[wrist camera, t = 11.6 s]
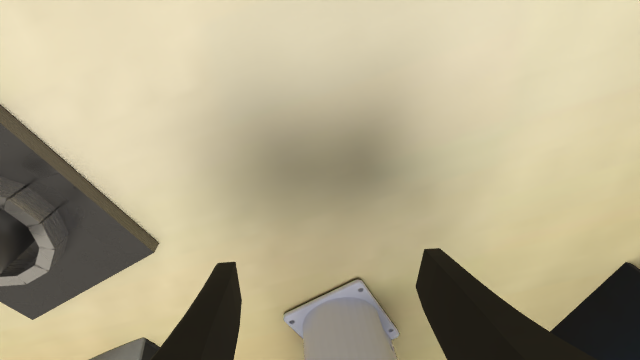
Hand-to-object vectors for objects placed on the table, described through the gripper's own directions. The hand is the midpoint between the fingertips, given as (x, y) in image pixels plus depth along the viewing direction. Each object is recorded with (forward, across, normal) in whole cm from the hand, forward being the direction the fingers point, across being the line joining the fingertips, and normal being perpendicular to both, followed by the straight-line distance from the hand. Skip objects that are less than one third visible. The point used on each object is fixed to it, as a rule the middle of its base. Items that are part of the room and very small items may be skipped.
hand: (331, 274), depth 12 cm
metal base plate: (+10, +20, +3) cm, 23 cm away
